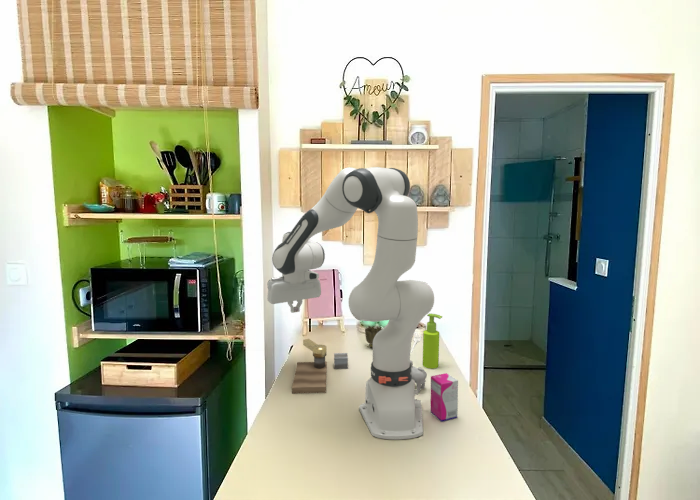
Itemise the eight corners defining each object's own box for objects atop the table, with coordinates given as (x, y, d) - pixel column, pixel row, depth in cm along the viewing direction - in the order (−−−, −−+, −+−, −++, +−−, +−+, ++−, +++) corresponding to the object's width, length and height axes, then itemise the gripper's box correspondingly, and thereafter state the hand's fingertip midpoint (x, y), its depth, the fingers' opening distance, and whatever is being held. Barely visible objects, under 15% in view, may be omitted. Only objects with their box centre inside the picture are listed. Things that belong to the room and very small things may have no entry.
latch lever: (329, 355, 145) (328, 347, 144) (316, 358, 142) (316, 350, 141) (311, 344, 156) (311, 336, 155) (300, 346, 153) (300, 339, 153)
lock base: (350, 392, 131) (349, 374, 130) (292, 393, 130) (291, 375, 129) (347, 363, 154) (347, 348, 153) (298, 363, 153) (297, 348, 152)
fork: (406, 354, 164) (406, 350, 164) (414, 337, 183) (414, 333, 182) (414, 355, 163) (414, 351, 163) (421, 337, 182) (422, 333, 181)
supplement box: (445, 408, 121) (447, 372, 119) (457, 418, 115) (459, 380, 114) (429, 412, 119) (430, 375, 117) (440, 422, 113) (442, 384, 112)
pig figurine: (394, 378, 141) (395, 349, 139) (428, 388, 133) (429, 357, 132) (387, 384, 137) (387, 354, 135) (421, 394, 129) (422, 363, 128)
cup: (362, 349, 167) (362, 330, 166) (367, 342, 174) (367, 325, 173) (380, 351, 165) (380, 332, 164) (383, 344, 172) (384, 326, 171)
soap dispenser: (436, 370, 147) (438, 318, 144) (419, 366, 151) (421, 314, 148) (443, 365, 151) (445, 314, 149) (426, 361, 155) (428, 311, 153)
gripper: (270, 279, 138) (271, 318, 140) (322, 273, 149) (323, 309, 151) (264, 276, 143) (265, 314, 145) (314, 271, 154) (315, 305, 156)
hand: (295, 311), depth 148 cm, fingers closed
